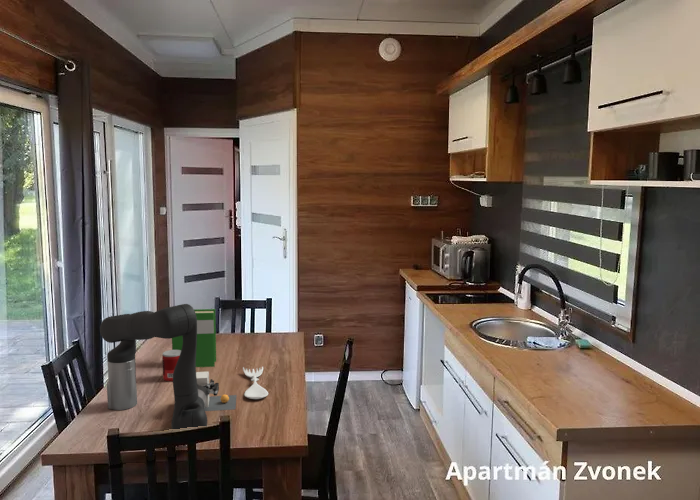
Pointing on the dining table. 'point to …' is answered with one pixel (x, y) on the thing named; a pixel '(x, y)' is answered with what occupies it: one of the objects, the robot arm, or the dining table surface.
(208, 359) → the hardback book
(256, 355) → the dining table surface
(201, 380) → the white rectangular block
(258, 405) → the dining table surface
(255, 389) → the white piece
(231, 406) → the mat
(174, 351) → the canned food
